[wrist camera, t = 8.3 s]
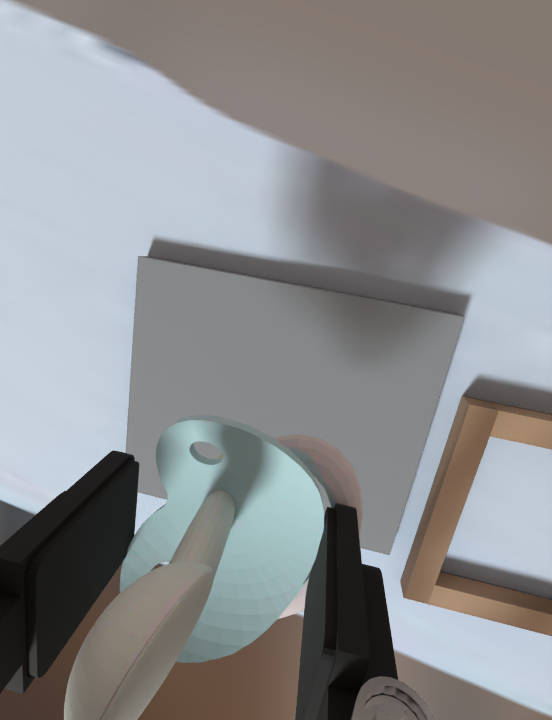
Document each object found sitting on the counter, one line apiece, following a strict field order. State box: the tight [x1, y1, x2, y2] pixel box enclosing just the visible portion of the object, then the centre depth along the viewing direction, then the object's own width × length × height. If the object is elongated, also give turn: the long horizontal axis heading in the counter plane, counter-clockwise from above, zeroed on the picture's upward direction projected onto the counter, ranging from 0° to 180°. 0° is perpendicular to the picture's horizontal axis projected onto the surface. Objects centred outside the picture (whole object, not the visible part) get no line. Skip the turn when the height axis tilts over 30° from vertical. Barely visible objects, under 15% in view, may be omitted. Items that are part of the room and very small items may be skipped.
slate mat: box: [126, 256, 464, 555], centre depth 18 cm, size 14×12×1 cm
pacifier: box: [64, 415, 363, 720], centre depth 8 cm, size 7×6×6 cm
